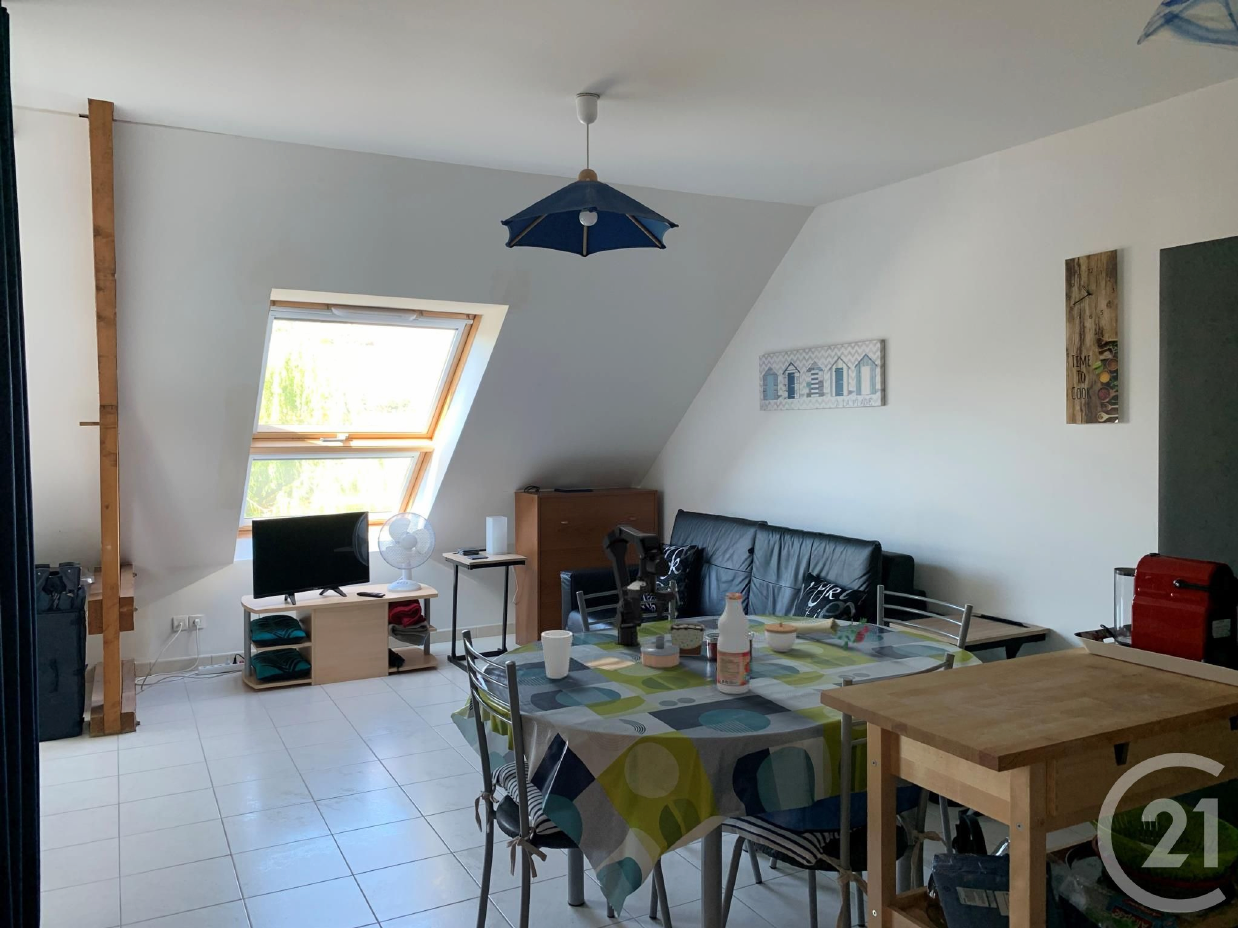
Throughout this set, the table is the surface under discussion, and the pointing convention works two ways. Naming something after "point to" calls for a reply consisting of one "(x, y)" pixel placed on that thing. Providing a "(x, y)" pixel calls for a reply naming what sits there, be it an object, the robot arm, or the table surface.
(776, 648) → the lidded jar
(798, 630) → the flower vase
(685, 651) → the food container
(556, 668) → the foam cup
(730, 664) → the fruit juice
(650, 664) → the bowl
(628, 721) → the table surface
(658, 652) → the lid
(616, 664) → the mat
